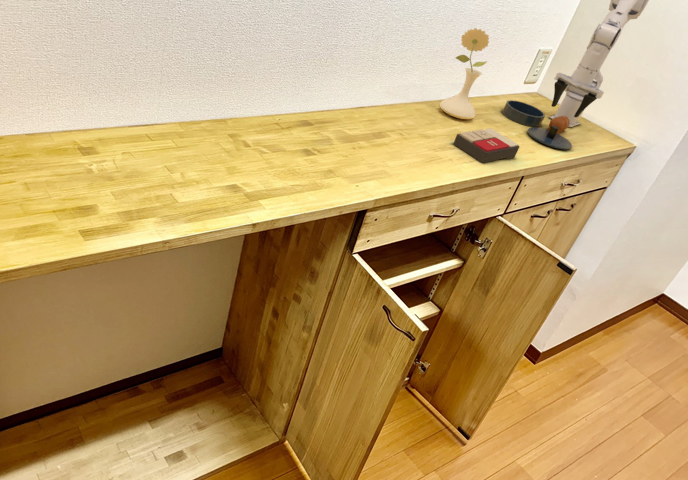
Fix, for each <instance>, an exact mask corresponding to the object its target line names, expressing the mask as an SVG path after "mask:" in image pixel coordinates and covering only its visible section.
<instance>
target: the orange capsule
mask: <svg viewBox="0 0 688 480" xmlns="http://www.w3.org/2000/svg"><path fill="white" fill-rule="evenodd" d="M569 124H570V121H569V119H568V118H567V117H566V116H559V117H556V118H553V119H551V120H550V121H549V123H548V128H547V130H550V128H551V127H552V126H556V127H558V128H559V130H558V132H557V134H561V133H564V132H565V131H566V130H567V129H568V128H570V127H569Z"/></svg>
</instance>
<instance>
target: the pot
mask: <svg viewBox="0 0 688 480" xmlns="http://www.w3.org/2000/svg"><path fill="white" fill-rule="evenodd" d="M501 112H502V115H503V116H505V117H506V118H507V119H509V120H510V121H512V122H515V123H517V124H519V125H522V126H526V127H529V128H532V127H537V128H539V127H540V126H541V125H542V123H543V121H544V119H545V118H546V114H545V113H544V111H542V110H541V109H539V108H538V107H536V106H534V105H531V104H528V103H526V102H523V101H520V100H519V101H518V100H511V99H510V100H506V102H505V104H504V107H503V109H502V110H501Z"/></svg>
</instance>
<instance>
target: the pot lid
mask: <svg viewBox="0 0 688 480" xmlns="http://www.w3.org/2000/svg"><path fill="white" fill-rule="evenodd" d="M558 130H559V128H558V127H556V126H552V127H551V128H550V130H548V129H546V128H542V127H529V128H528V129H527V134H528V135H529V136H530V137H531V138H532V139H534V140H535V141H537V142H539V143H541V144H542V145H545V146H548V147H550V148H554V149H558V150H570V149H572V147H573V144H572V142H571V141H570V140H569V139H567V138H566V137H564V136H563V135H561V134H560V133H558V134H557V132H558Z"/></svg>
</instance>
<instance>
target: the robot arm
mask: <svg viewBox="0 0 688 480" xmlns="http://www.w3.org/2000/svg"><path fill="white" fill-rule="evenodd" d="M649 2H650V0H610V3H609V6H608V10H609V12H608V13H607V15H606V16H605V18H604V19H603V21H602V22H601V23H598V24H597V26H596V27H595V29H594V31H593V33H592V35H591V37H590V40H589V41H588V42H589V43H588V45H587V46H586V50H585V52H584V54H583V55H582V57H581V60H580V61H579V63H578V65H577V67H576V69H574V71H573V72H572V74H571V76H570V75H567V74H565V73H563V72H557V73H556V75H555V76H554V80H555V82H554V92H553V99H552V103H551V105H550V106H551V107H553V108H554V107H557V105H558V103H559V101H560V99H561V97H562V95H563V93H564V92H565V96H564V97H563V99H562V100H561V103H560V104H559V106H558V108H557V109H556V112H555V114H554V115H551V116H549V119H551V120H552V119H553V118H556V117H559V116H566V117H567V118H568V119H569V121H570V124H569V127H568V128H572V127H575V126H578V125H580V124H581V122H579V121H580V118H581V116H582V115H583V113H584V112H585V110H586V108H588V107H589V106H590V105H591V104H592V103H593V102H595V101H596V100H597V99H601V98H602V97H603V95H604V94H605V91H604V90H602V89H600V87H602V83H603V82H604V76H603V75H602V73H601V71H600V70H601V68H602V66H603V65H604V63H605V61H606V59H607V57H608V55H609V54H610V52H611V50H612V49H613V48H614V46H615V45H616V43H617V42H618V40H619V38H620V36H621V34H622V31H623V30H624V28H625V25H626V24H628V23H629V22H630V21H631V20H637V19H638V18H639V17H640V16H641V14H642V13H643V12H644V10H645V8H646V6H647V5H648V3H649Z"/></svg>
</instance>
